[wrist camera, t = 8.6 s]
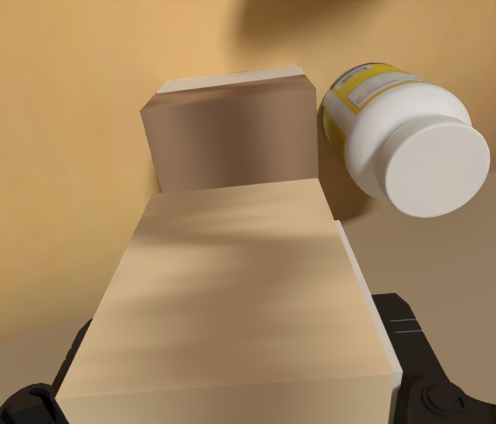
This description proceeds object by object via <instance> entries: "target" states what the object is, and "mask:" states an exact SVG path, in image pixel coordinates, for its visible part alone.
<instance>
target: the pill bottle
mask: <svg viewBox="0 0 496 424" xmlns="http://www.w3.org/2000/svg"><path fill="white" fill-rule="evenodd" d="M321 121H322V126H323V130H324V132H325V135H326V137H327V138H328V140H329V142H330V143H331V145H332V147H333V148H334V150H335V152H336V153H337V155H338V157H339V158H340V160H341V162H342V163H343V165H344V166H345V168H346V170H347V171H348V173H349V175H350V176H351V178H352V179H353V181H354V182H355V183H356V184H357V186H358V187H359V188H360V189H361V190H362V191H364V192H365V193H366V194H368V195H370V196H371V197H374V198H376V199H378V200H381V201H385V202H391V203H392V205H393V206H394V207H396V208H397V209H398V210H399V211H401V212H403V213H405V214H407V215H410V216H414V217H421V218H427V217H435V216H440V215H443V214H447V213H449V212H451V211H453V210H455V209H457V208H459V207H460V206H462V205H463V204H465V203H466V202H467V201H468V200H470V199H471V198H472V196H474V195H475V194H476V192H477V191H478V190H479V188H480V187H481V186H482V184H483V182H484V180H485V178H486V176H487V173H488V170H489V165H490V152H489V148H488V145H487V143H486V141H485V139H484V138H483V136H482V135H481V134H480V133H479V132H478V131H477V130H475V129H474V128H472V125H471V120H470V117H469V115H468V112H467V110H466V108H465V107H464V105H463V104H462V103H461V101H460V100H459V99H458V98H457V97H455V96H454V95H453V94H452V93H450V92H449V91H447V90H445V89H443V88H441V87H439V86H437V85H434V84H432V83H430V82H428V81H425V80H423V79H421V78H419V77H416V76H414V75H412V74H409V73H407V72H405V71H402V70H400V69H398V68H395V67H393V66H391V65H388V64H383V63H366V64H362V65H358V66H356V67H353V68H351V69H350V70H348V71H346V72H345V73H343V74H342V75H341V76H340V77H339V78H338V79H337V80H336V81H335V82H334V83H333V84H332V85H331V87H330V88H329V90H328V92H327V94H326V96H325V98H324V101H323V105H322V111H321Z"/></svg>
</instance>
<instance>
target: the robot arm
mask: <svg viewBox="0 0 496 424" xmlns="http://www.w3.org/2000/svg"><path fill="white" fill-rule="evenodd" d="M335 224H336V226H337V229H338V231H339V234H340V236H341V239H342V242H343V244H344V247H345V249H346V252H347V254H348V257H349V259H350V262H351V265H352V267H353V270H354V272H355V275H356V277H357V280H358V283H359V285H360V288H361V290H362V293H363V295H364V298H365V300H366V303H367V306H368V308H369V311H370V313H371V316H372V318H373V321H374V324H375V326H376V329H377V331H378V334H379V336H380V339H381V341H382V344H383V347H384V349H385V352H386V354H387V357H388V359H389V362H390V364H391V367H392V370H393V372H394V380H393V387H392V395H391V403H390V411H389V419H388V424H496V405H494V404H490V403H486V402H483V401H479V400H476V399H474V398H472V397H470V396H468V395H466V394H465V393H464V392H463V391H462V390H461V388H459V387H458V386H456V385H455V384H453V383H451V382H450V380H449V379H448V378H447V376H446V375H445V373H444V371H443V369H442V367H441V365H440V363H439V361H438V359H437V358H436V356H435V354H434V352H433V350H432V348H431V346H430V344H429V343H428V341H427V339H426V337H425V335H424V333H423V332H422V330H421V327H420V325H419V324H418V322H417V321H416V318H415V316H414V314H413V312H412V310H411V308H410V306H409V305H408V304H407V303H406V302H405V301H404V300H403V299H402V298H400V297H399V296H398V295H397V294H396V293H389V294H376V295H371V294H370V292H369V290H368V287H367V285H366V283H365V280H364V278H363V275H362V273H361V270H360V268H359V266H358V263H357V261H356V259H355V256H354V254H353V251H352V249H351V247H350V244H349V242H348V239H347V237H346V235H345V232H344V230H343V227H342V225H341V223H340V220H336V221H335ZM92 320H93V319H90V320H89V321H88V322H87V323H86V324H85V325H84V326H83V327H82V328H81V330H80V331H79V332H78V334H77V336H76V338H75V340H74V342H73V344H72V348H71V349H70V350H69V352H68V354H67V356H66V360H64V362H63V364H62V366H61V368H60V370H59V372H58V374H57V376H56V378H55V380H54V382H53V384H52V386H51V385H48V384H44V383H38V384H32V385H29V386H27V387H25V388H23V389H20V390H19V391H17V392H16V393H15V394H13V395H12V396H10V397H9V398H8V399H7V400H6V401H5V402H4V404H3V405H2V406H1V407H0V424H69V422H68V420H67V419H66V417H65V415H64V413H63V412H62V410H61V408H60V407H59V405H58V403H57V401H56V400H55V397H56V395H57V393H58V391H59V389H60V387H61V385H62V383H63V380H64V378H65V376H66V374H67V372H68V370H69V368H70V366H71V364H72V362H73V360H74V357H75V355H76V353H77V351H78V349H79V347H80V345H81V343H82V341H83V339H84V336H85V334H86V332H87V330H88V328H89V326H90V324H91V322H92Z"/></svg>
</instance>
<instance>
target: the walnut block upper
mask: <svg viewBox="0 0 496 424" xmlns="http://www.w3.org/2000/svg"><path fill="white" fill-rule="evenodd" d="M140 113H141V117H142V121H143V124H144V128H145V132H146V136H147V139H148V143H149V147H150V151H151V154H152V158H153V162H154V166H155V170H156V173H157V177H158V181H159V185H160V188H161V192H162V194H164V193H174V192H184V191H194V190H204V189H214V188H224V187H234V186H244V185H254V184H264V183H274V182H284V181H294V180H304V179H314V178H318V180H319V167H318V137H317V108H316V88H315V87H314V85H313V84H312V83H311V82H310V80H309V79H308V78H307V77H306V75H305V74H302V75H295V76H287V77H279V78H272V79H264V80H257V81H249V82H241V83H234V84H226V85H219V86H211V87H203V88H196V89H188V90H180V91H173V92H165V93H158V94H155V95H154V96H153V97H152V98H151V99H150V100H149V102H148V103H147V104H146V105H145V106H144V107H143V108H142V109H141V110H140Z"/></svg>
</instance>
